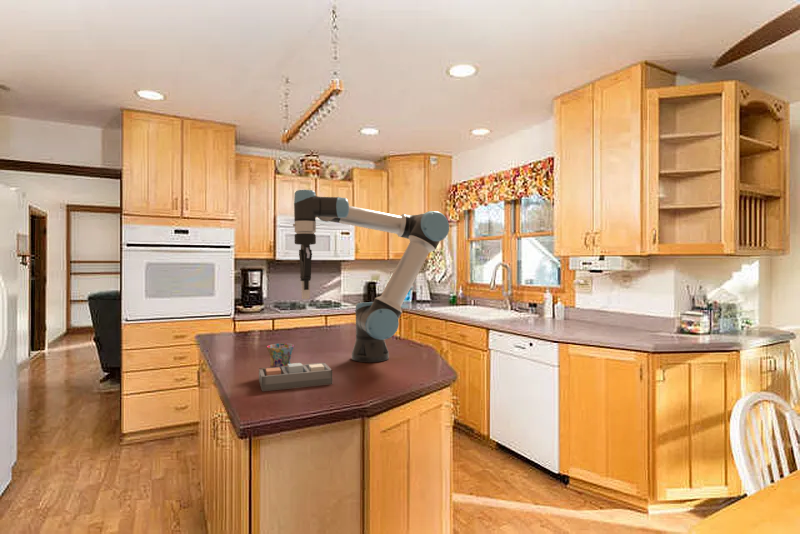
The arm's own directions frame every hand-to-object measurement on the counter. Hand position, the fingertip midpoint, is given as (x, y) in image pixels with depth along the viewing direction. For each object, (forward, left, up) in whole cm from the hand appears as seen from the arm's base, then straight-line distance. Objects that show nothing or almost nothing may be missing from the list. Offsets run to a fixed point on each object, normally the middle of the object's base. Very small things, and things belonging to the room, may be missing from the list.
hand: (305, 298), depth 165 cm
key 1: (+13, +14, -24) cm, 30 cm away
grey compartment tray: (+6, +14, -26) cm, 30 cm away
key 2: (-1, +14, -24) cm, 28 cm away
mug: (+9, +1, -27) cm, 28 cm away
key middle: (+6, +14, -23) cm, 27 cm away
